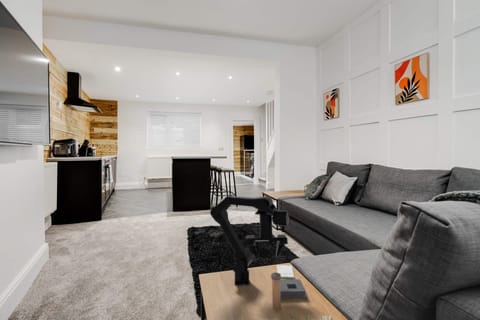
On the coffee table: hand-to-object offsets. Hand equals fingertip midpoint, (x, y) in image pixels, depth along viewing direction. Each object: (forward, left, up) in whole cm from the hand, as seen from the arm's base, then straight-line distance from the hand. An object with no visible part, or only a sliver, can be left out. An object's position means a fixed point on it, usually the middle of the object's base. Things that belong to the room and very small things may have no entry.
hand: (266, 258), depth 111 cm
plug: (+2, -16, -13) cm, 21 cm away
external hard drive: (+10, +13, -14) cm, 22 cm away
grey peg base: (+9, -5, -13) cm, 17 cm away
